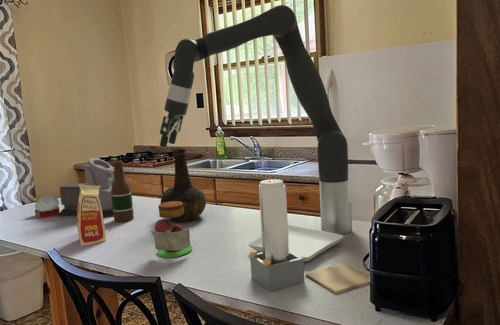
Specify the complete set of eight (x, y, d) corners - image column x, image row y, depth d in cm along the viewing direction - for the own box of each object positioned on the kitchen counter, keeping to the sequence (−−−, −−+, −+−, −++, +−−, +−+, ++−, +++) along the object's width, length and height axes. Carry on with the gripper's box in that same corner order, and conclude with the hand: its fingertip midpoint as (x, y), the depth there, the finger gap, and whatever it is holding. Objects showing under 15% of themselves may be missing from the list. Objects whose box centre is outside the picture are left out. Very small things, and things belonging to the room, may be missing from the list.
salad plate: (307, 269, 111) (307, 256, 111) (246, 253, 125) (245, 242, 125) (346, 245, 127) (345, 234, 127) (288, 234, 141) (287, 224, 140)
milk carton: (81, 246, 141) (73, 187, 138) (78, 239, 149) (71, 183, 146) (109, 240, 145) (102, 183, 142) (105, 233, 153) (98, 179, 150)
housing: (284, 269, 111) (282, 242, 110) (304, 281, 103) (303, 253, 102) (249, 278, 107) (247, 250, 106) (268, 292, 98) (266, 262, 97)
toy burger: (152, 248, 134) (147, 202, 132) (192, 243, 137) (188, 197, 135) (152, 261, 123) (147, 211, 121) (195, 255, 125) (191, 206, 123)
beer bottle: (110, 222, 169) (103, 162, 165) (122, 216, 176) (116, 159, 172) (125, 223, 166) (119, 162, 162) (138, 217, 173) (132, 159, 169)
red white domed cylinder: (61, 222, 191) (68, 203, 189) (43, 226, 181) (50, 206, 179) (44, 210, 194) (51, 191, 192) (25, 213, 185) (32, 193, 183)
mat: (343, 265, 111) (343, 263, 111) (376, 281, 101) (376, 278, 101) (305, 275, 106) (305, 273, 106) (335, 293, 95) (335, 291, 95)
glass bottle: (180, 211, 179) (174, 145, 175) (216, 214, 171) (210, 145, 167) (152, 222, 164) (145, 151, 160) (189, 226, 155) (183, 151, 152)
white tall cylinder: (289, 285, 101) (283, 183, 97) (262, 285, 102) (256, 183, 99) (291, 274, 107) (287, 177, 104) (266, 274, 109) (261, 178, 105)
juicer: (134, 208, 190) (129, 154, 186) (114, 218, 174) (108, 159, 171) (77, 208, 197) (70, 156, 194) (53, 217, 182) (46, 161, 179)
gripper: (181, 103, 135) (170, 151, 139) (194, 101, 149) (183, 145, 153) (160, 96, 136) (149, 144, 140) (174, 95, 150) (164, 139, 153)
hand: (167, 144), depth 146 cm, fingers open, 8 cm apart
